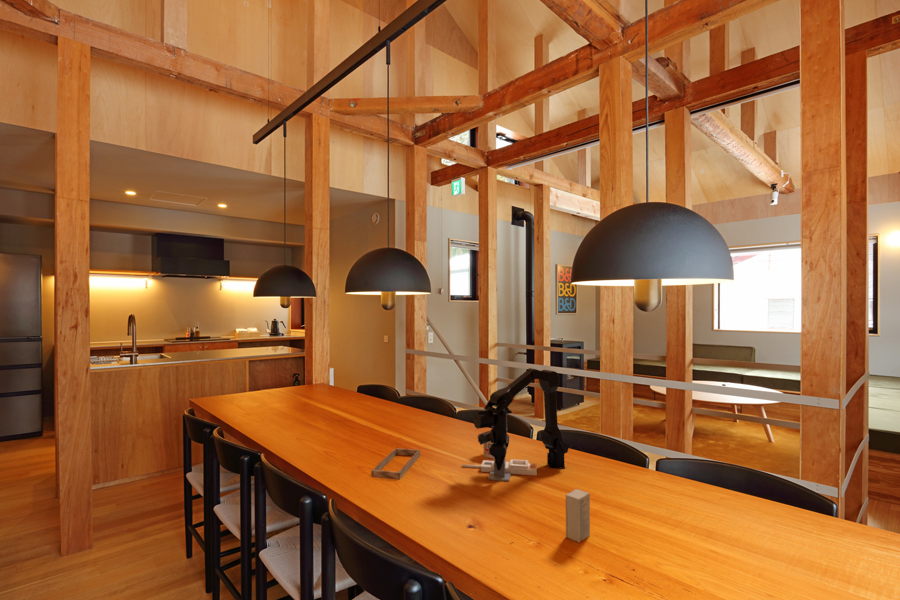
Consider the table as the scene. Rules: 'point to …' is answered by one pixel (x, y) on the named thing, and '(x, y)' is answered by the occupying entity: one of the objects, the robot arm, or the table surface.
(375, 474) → the wooden frame
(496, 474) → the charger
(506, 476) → the coaster
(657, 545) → the table surface
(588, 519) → the skincare box
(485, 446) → the teacup with lid
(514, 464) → the power strip
